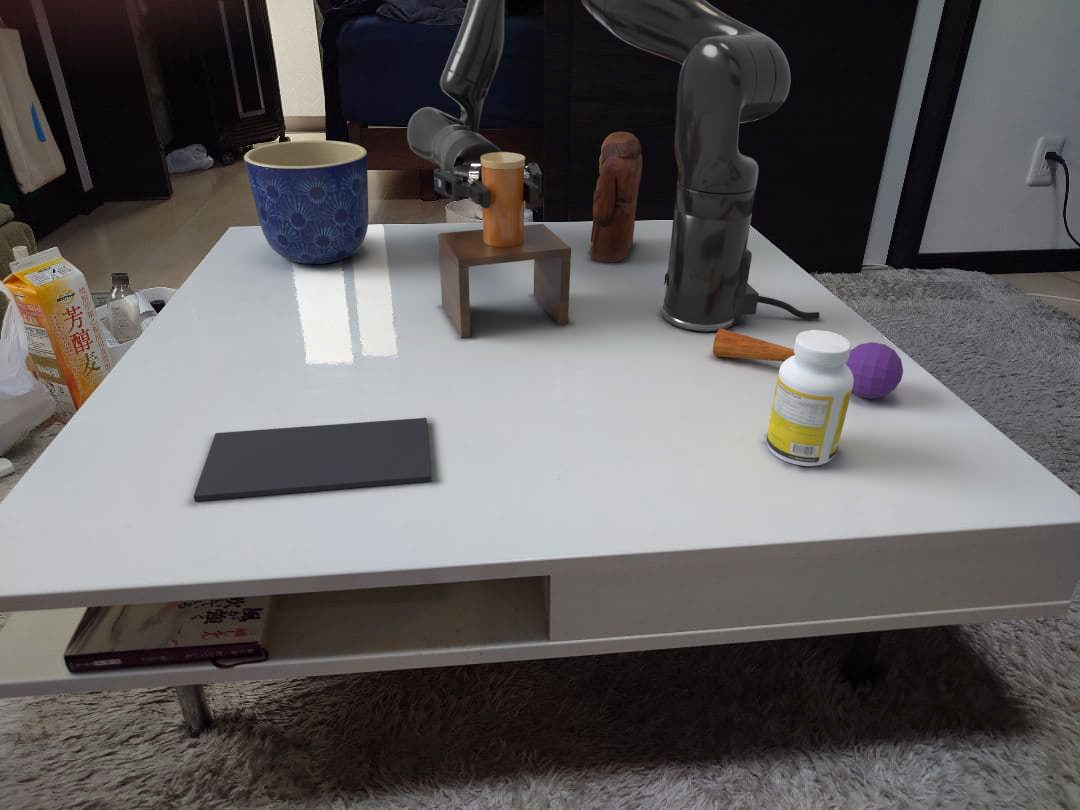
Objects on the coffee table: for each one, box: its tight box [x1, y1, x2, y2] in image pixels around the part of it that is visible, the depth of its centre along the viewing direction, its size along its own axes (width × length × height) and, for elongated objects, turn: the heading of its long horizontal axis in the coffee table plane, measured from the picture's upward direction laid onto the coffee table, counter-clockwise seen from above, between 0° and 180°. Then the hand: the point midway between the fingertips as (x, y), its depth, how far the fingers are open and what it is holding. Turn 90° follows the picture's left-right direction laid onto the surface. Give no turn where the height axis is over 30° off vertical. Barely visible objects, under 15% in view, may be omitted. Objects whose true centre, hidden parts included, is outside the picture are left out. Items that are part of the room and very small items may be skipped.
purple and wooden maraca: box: [712, 328, 904, 400], centre depth 86 cm, size 6×6×20 cm
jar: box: [481, 151, 526, 247], centre depth 92 cm, size 5×5×10 cm
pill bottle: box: [765, 329, 854, 467], centre depth 71 cm, size 6×6×12 cm
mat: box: [193, 417, 433, 502], centre depth 71 cm, size 20×10×1 cm, turn 100°
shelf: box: [438, 223, 572, 339], centre depth 97 cm, size 14×10×10 cm
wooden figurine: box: [589, 131, 643, 263], centre depth 117 cm, size 12×6×18 cm, turn 165°
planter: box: [243, 139, 370, 265], centre depth 114 cm, size 17×17×15 cm
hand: (510, 197), depth 90 cm, fingers closed on jar, 5 cm apart
